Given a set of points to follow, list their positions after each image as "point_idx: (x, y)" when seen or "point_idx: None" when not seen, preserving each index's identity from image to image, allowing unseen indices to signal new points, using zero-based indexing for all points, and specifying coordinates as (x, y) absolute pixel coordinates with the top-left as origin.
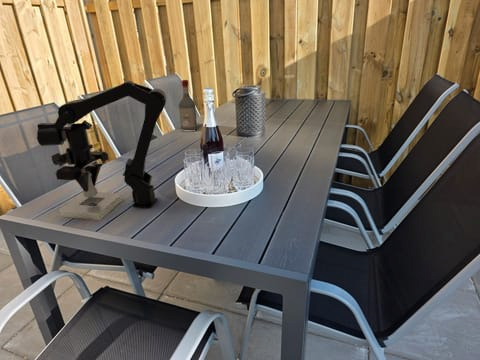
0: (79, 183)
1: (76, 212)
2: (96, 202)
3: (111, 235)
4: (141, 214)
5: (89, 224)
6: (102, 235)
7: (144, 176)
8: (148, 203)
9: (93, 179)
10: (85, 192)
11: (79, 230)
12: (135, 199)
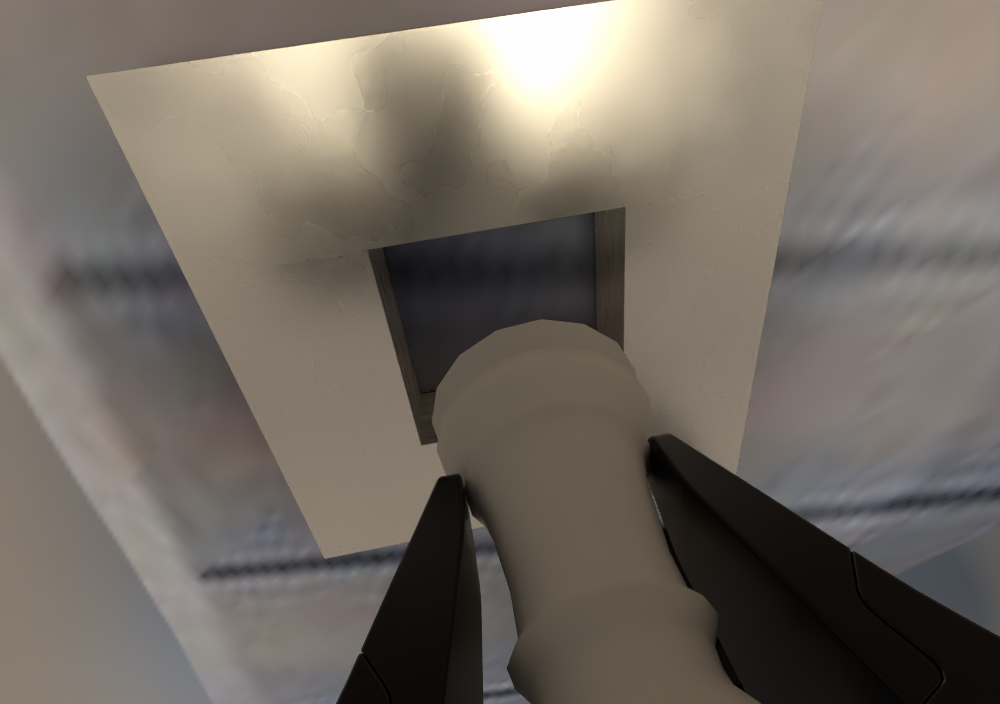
0: (367, 670)
1: (230, 351)
2: (598, 262)
3: (229, 656)
4: (515, 632)
5: (238, 478)
6: (193, 626)
7: None
8: None
9: (718, 606)
10: (444, 469)
11: (119, 480)
12: None
